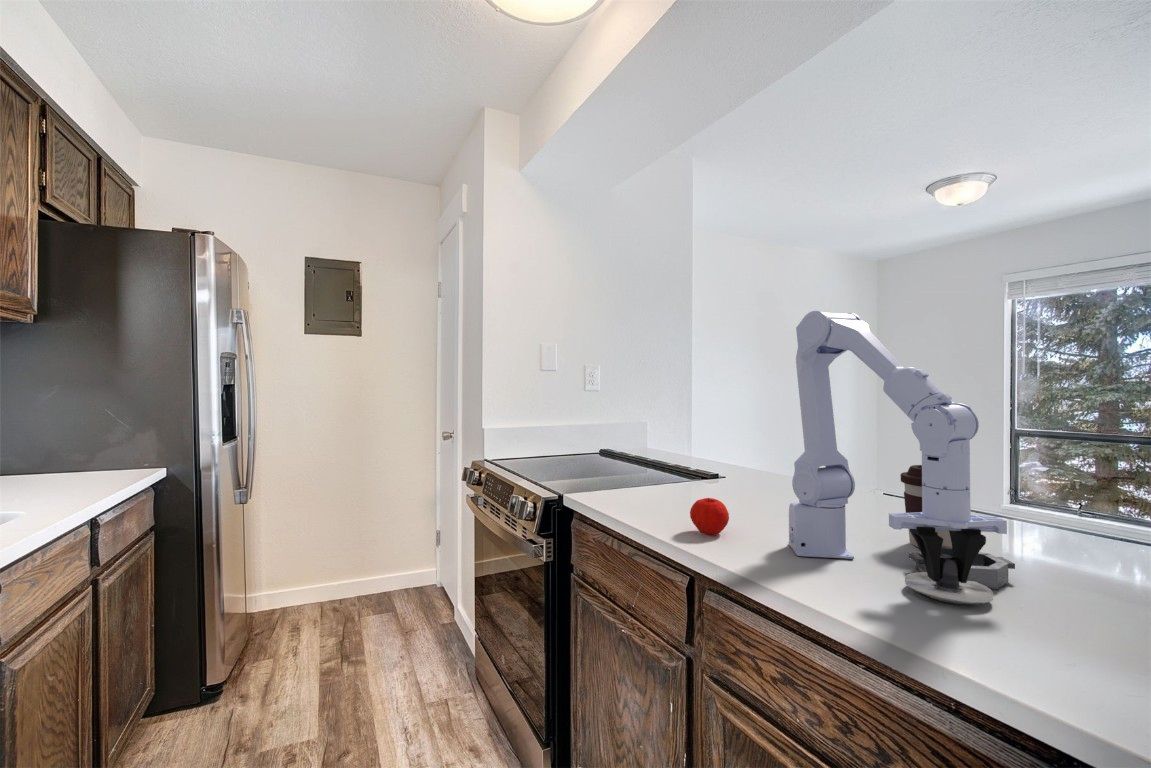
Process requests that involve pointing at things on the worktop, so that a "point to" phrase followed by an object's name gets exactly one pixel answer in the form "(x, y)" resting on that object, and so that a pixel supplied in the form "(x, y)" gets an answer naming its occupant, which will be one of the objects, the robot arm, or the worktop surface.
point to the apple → (709, 516)
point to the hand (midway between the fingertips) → (946, 579)
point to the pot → (977, 568)
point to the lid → (949, 585)
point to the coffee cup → (918, 500)
